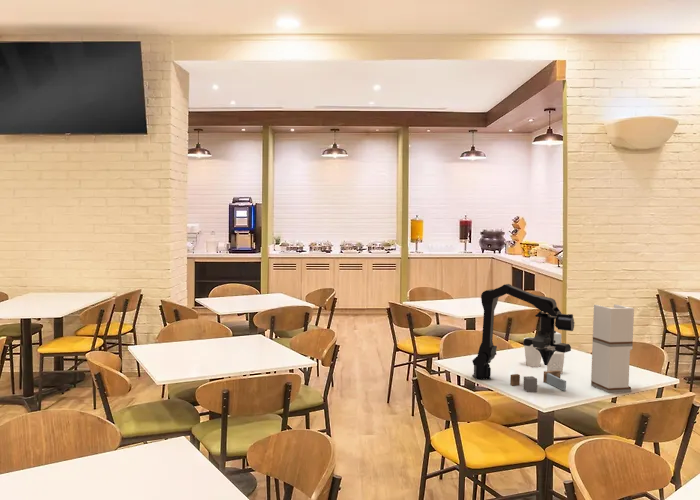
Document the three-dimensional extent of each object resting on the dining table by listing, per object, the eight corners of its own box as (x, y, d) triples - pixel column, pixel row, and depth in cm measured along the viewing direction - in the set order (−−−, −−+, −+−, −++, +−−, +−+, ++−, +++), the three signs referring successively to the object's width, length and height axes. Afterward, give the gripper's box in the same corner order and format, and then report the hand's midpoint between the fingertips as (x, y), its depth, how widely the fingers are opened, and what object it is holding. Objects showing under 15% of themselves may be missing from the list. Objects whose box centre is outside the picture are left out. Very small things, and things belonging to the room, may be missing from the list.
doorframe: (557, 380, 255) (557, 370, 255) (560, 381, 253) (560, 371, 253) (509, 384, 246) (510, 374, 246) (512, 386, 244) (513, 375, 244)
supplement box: (561, 358, 298) (562, 334, 297) (546, 358, 298) (547, 333, 297) (556, 355, 305) (557, 331, 305) (542, 354, 305) (543, 331, 305)
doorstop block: (527, 392, 235) (527, 379, 235) (523, 389, 239) (523, 376, 239) (536, 392, 236) (537, 378, 236) (532, 389, 240) (532, 376, 240)
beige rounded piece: (565, 375, 263) (565, 353, 263) (547, 374, 265) (547, 352, 264) (562, 371, 271) (562, 350, 270) (544, 370, 272) (545, 349, 272)
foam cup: (522, 366, 279) (522, 340, 278) (523, 362, 287) (524, 336, 287) (542, 368, 275) (543, 341, 274) (543, 364, 284) (544, 338, 283)
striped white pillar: (630, 392, 238) (634, 308, 237) (608, 393, 236) (611, 308, 234) (612, 384, 249) (615, 304, 248) (591, 385, 247) (593, 304, 246)
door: (546, 382, 250) (546, 373, 250) (551, 382, 250) (551, 373, 250) (563, 390, 238) (564, 381, 237) (568, 390, 238) (568, 380, 238)
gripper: (517, 327, 241) (515, 363, 242) (559, 334, 228) (557, 372, 228) (530, 324, 249) (529, 359, 250) (572, 330, 235) (570, 368, 236)
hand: (545, 365), depth 241 cm, fingers closed
